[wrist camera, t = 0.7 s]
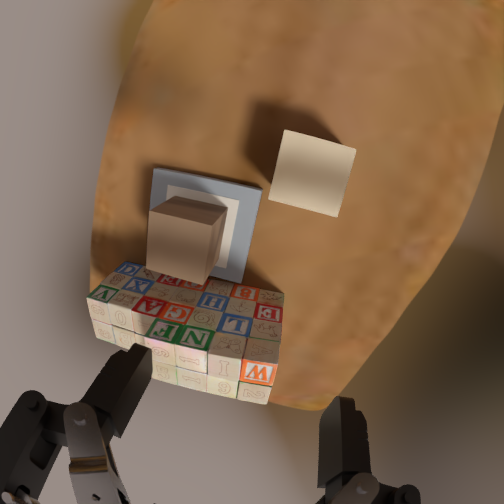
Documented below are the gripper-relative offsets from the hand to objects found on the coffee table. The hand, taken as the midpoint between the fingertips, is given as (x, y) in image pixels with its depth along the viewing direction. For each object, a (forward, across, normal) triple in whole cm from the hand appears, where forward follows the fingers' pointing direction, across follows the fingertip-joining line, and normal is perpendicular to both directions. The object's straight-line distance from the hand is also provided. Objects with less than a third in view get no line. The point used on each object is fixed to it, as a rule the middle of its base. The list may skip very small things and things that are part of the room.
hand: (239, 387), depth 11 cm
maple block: (+22, -2, -6) cm, 23 cm away
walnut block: (+20, +8, +3) cm, 22 cm away
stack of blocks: (+22, +7, +12) cm, 26 cm away
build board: (+22, +8, +3) cm, 23 cm away
